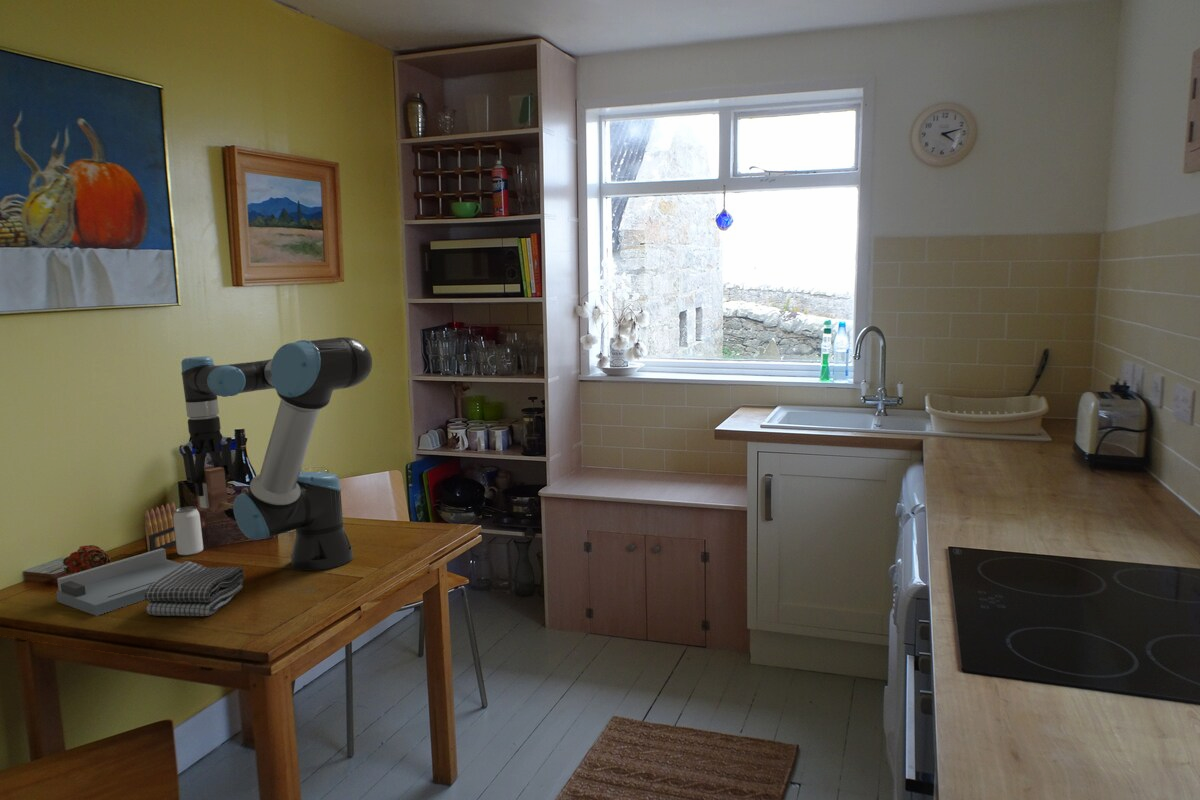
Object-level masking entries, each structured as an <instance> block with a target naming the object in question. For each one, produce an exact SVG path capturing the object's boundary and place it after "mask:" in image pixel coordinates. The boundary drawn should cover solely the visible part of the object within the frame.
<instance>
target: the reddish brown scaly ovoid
mask: <svg viewBox="0 0 1200 800" xmlns="http://www.w3.org/2000/svg"><path fill="white" fill-rule="evenodd" d="M111 561H112V559H111V558H110V557H109V554H108V553H107V552H106V551H105V550H104V549H102V548H101V547H99V546H97V545H95V544H89V545H80V546H79V547H78V549H77V551H74V552H71V553H70V555H69V556H67V557H64V559H63V561H62V563H63V566H66V567H63V570H64V572H65V573H66V574H71V573H73V574H75V573H78V572H82V571H85V570H88V569H92V568H95V567H99V566H102V565H106V564H109V563H111Z"/></svg>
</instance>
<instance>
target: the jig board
mask: <svg viewBox="0 0 1200 800" xmlns="http://www.w3.org/2000/svg"><path fill="white" fill-rule="evenodd" d="M166 553H167V551H166V548H165V549H163V548H161V549H157V550H154V551H150V552H147V553H146V552H143V553H141V554H138V555H134V556H131V557H127V558H122V559H119V560H117V561H113V562H109V563H108V564H106V565H102V566H99V567H95V568H92V569H88V570H85V571H82V572H78V573H76V572H75V573H73V574H71V573H70V574H69V575H65V576H61V577H58V578H57V579H56V580H57V587H58V588H57V589H58V590H57V591H56V593H55V594H56V601H57V603H60V604H63V605H65V606H68V607H72V608H74V609H76V610H79V611H82V612H85V613H87V614H90V615H94V616H95V615H96V616H95V617H98V615H99V616H101V614H102V615H104V613H105V614H107V612H108V613H110V611H111V612H113V610H114V611H116V609H117V610H119V609H118V608H120V609H122V608H121V607H123V608H125V606H126V607H128V606H127V605H129V606H131V605H130V604H132V605H134V603H135V604H137V602H138V603H140V601H141V602H143V600H144V601H146V600H145V597H144V596H145V593H146V592H147V590H148V587H149V586H150V585H151V584H152V583H154V582H155V581H157V580H159V579H160V578H162V577H163V576H164V575H166V574H168V573H169V572H172V571H173V570H175V569H176V568H177V567H179V566H180V565H182V564H183V563H181V562H178V561H174V560H170V559H167V554H166Z"/></svg>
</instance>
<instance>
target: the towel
mask: <svg viewBox="0 0 1200 800" xmlns="http://www.w3.org/2000/svg"><path fill="white" fill-rule="evenodd" d="M244 570H245V569H244V568H243V567H241V566H238V567H237V566H224V567H223V566H216V567H206V566H204V565H202V564H200V563H196V562H194V561H193V562H192V561H190V560H186V561H184V562H183V563H182V565H180V566H179V567H177V568H176V569H175V570H173V571H172V572H169V573H168V574H166V575H164V576H163V577H162V578H160V579H159V580H157V581H155V582H154V583H152V584H151V585H150V586H149V587H148V590H147V592H146V593H145V596H144V597H145V600H144V601H147V602H148V603H147V605H146V609H145V610H146V614H148V615H149V616H159V617H161V616H162V617H209V616H211V615H212V616H213V615H214V614H215V613H216V612H217V611H219V610H220V609H221V608H222V607H224V606H225V605H226V604H228V603H229V602H230V601H231V599H232V598H233V597H234V596H235V595H236V593H237V592H238V591H239V592H240V590H241V588H244V586H243V585H244V580H243V579H246V576H245V574H243V573H244ZM241 591H242V590H241ZM239 592H238V593H239ZM238 593H237V594H238Z"/></svg>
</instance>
